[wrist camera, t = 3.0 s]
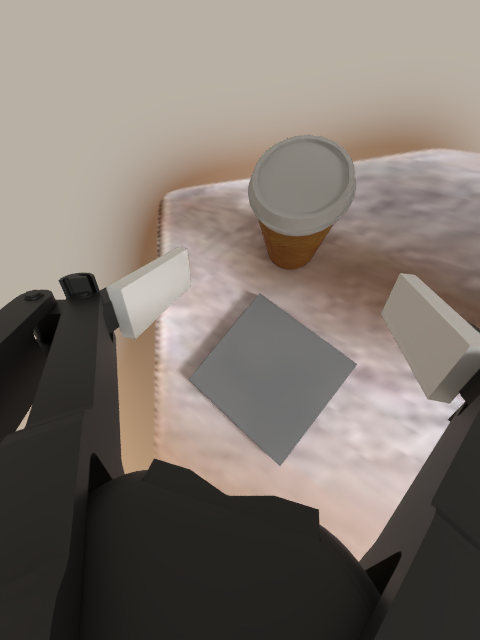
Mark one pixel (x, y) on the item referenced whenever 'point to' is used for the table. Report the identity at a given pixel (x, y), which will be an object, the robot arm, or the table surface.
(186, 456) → the table surface
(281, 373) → the slate tile
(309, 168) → the disposable coffee cup
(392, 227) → the table surface
